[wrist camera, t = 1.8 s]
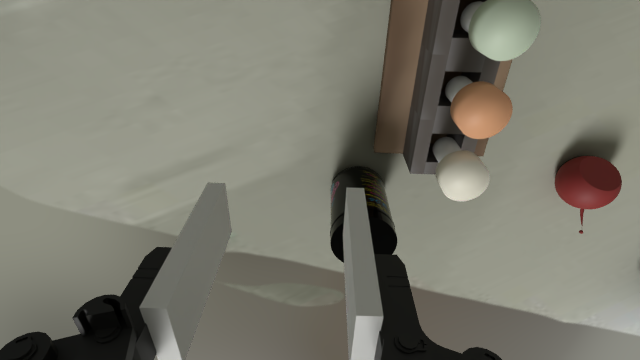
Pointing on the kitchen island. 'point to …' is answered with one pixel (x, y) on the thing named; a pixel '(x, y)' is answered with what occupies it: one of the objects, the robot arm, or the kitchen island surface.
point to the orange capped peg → (478, 107)
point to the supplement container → (376, 208)
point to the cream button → (459, 171)
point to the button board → (427, 80)
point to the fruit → (588, 183)
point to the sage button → (501, 27)
